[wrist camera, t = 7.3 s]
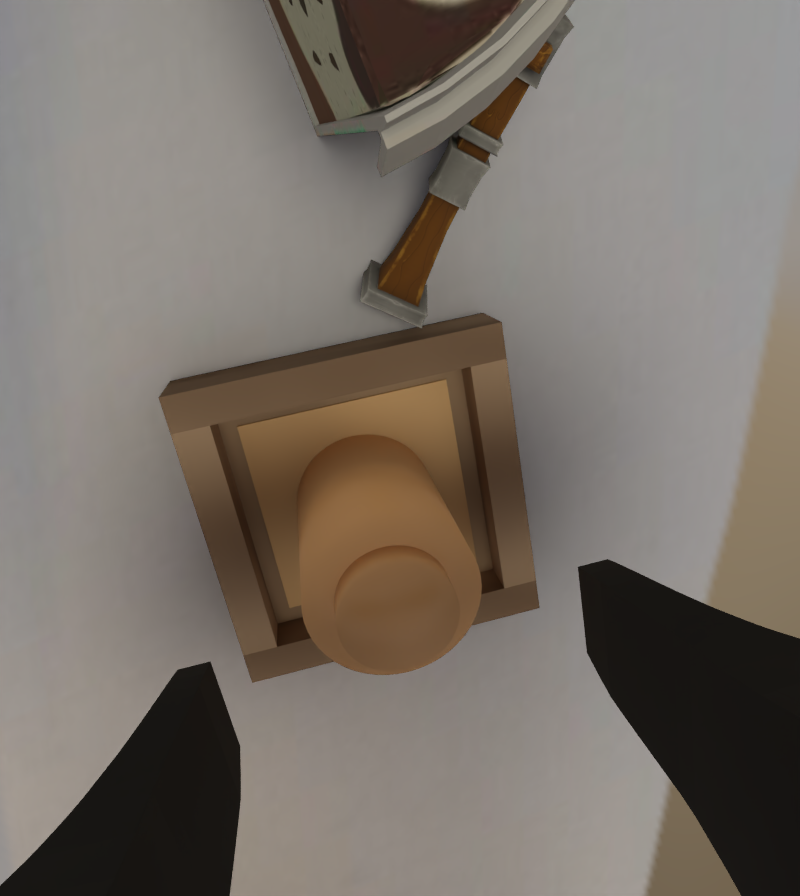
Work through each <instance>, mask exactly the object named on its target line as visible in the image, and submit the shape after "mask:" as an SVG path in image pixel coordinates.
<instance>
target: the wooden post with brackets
mask: <svg viewBox="0 0 800 896" xmlns="http://www.w3.org/2000/svg"><path fill="white" fill-rule="evenodd" d="M570 7H571V6H570ZM573 27H574V26H573V25H572V23H571V22H570V20H569V19H568V17H567V16H566V15H564V16H563V18H562V19H561V21H560V22H559V23H558V25H557V26H556V28H555V29H554V30H553V32H552V33H551V35H550V36H549V38H548V39H547V40H546V42H545V43H544V45H543V46H542V48H541V49H540V50H539V52H538V53H537V55H536V56H535V58H534V59H533V60H532V61H531V62H530V63H529V64H528V65H527V66H526V67H525V68H524V69H523V70H522V71H521V72H520V74H519V75H518V76H517V77H516V78H515V79H514V80H513V81H512V82H511V83H510V84H509V85H508V86H507V87H506V88H505V89H504V90H503V91H502V92H501V94H500V95H499V96H498V97H497V98H496V99H495V100H494V101H493V102H492V103H491V104H490V105H489V106H488V107H487V108H486V109H485V110H483V111H482V112H481V113H480V114H478V115H477V116H476V117H474V118H473V119H472V120H470V121H469V122H468V123H467V124H465V125H464V126H463V127H461V128H460V129H459V130H457V131H456V132H455V133H453V134H452V135H451V136H450V140H449V143H448V146H447V148H446V150H445V152H444V154H443V156H442V158H441V160H440V162H439V164H438V166H437V168H436V170H435V171H434V172H433V174H432V175H431V176H430V177H429V192H428V194H427V196H426V198H425V199H424V201H423V203H422V205H421V207H420V209H419V210H418V212H417V214H416V215H415V217H414V218H413V220H412V222H411V223H410V225H409V226H408V228H407V229H406V231H405V233H404V234H403V236H402V237H401V239H400V240H399V242H398V244H397V245H396V247H395V248H394V250H393V251H392V253H391V254H390V255H389V257H388V258H387V259H386V260H385V262H384V263H383V264H382V265H381V264H379V263H377V262H375V261H373V260H371V264H370V265H369V267H368V269H367V270H366V271H365V272H364V275H363V283H362V290H361V298H360V301H361V302H363V303H365V304H368V305H370V306H372V307H374V308H377V309H379V310H381V311H383V312H386V313H388V314H390V315H393V316H395V317H397V318H399V319H402V320H404V321H406V322H408V323H411V324H413V325H415V326H418V327H420V328H422V324H423V321H424V319H425V317H427V285H425V284H426V281H427V278H428V276H429V273H430V271H431V269H432V266H433V264H434V261H435V259H436V256H437V254H438V252H439V249H440V247H441V244H442V242H443V239H444V237H445V235H446V232H447V230H448V228H449V226H450V224H451V222H452V221H453V219H454V217H455V215H456V213H457V211H458V209H459V208H461V209H463V210H465V209H466V206H467V203H468V201H469V198H470V196H471V195H472V193H473V191H474V190H475V188H476V186H477V184H478V183H479V181H480V179H481V178H482V176H483V175H484V174H485V173H486V172H487V171H488V170H489V168H490V164H489V160H488V157H489V155H490V153H491V154H493V155H495V156H497V153H498V151H499V149H500V148H501V147H502V146H503V143H502V139H501V134H502V132H503V130H504V129H505V127H506V125H507V124H508V122H509V120H510V118H511V117H512V115H513V113H514V111H515V110H516V108H517V106H518V104H519V103H520V101H521V99H522V98H523V96H524V94H525V92H526V91H527V89H528V87H529V85H531V86H533V87H534V88H536V89H537V87H538V84H539V82H540V79H541V77H542V75H543V73H544V71H545V70H546V68H547V66H548V65H549V63H550V61H551V60H552V58H553V56H554V54H555V53H556V51H557V49H558V48H559V46H560V44H561V43H562V41H563V39H564V38H565V37H566V35H567V34H568V33H569V32H570V31H571V29H572V28H573Z"/></svg>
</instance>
